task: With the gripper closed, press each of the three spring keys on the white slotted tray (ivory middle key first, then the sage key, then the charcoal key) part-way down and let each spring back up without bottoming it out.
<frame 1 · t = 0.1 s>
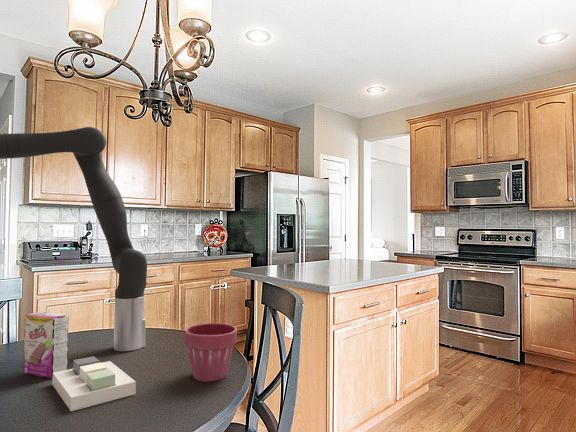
white slotted tray: (92, 389, 97), on the table
sage key: (100, 386, 92), point 2 cm above the table, slide at 0.0 cm
ivory key: (92, 379, 97), point 2 cm above the table, slide at 0.0 cm
charcoal key: (86, 372, 102), point 2 cm above the table, slide at 0.0 cm
plant pot: (210, 376, 106), on the table
candy bar box: (45, 374, 107), on the table
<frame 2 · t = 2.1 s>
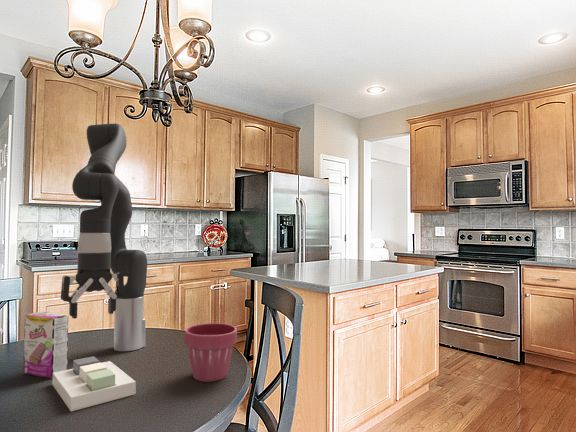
hand: (93, 315, 98), 18 cm above the table, fingers open, 8 cm apart
nothing on the table moved.
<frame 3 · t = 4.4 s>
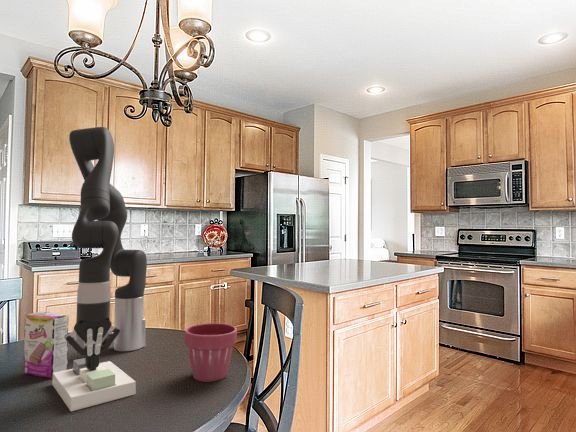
hand: (91, 369, 97), 5 cm above the table, fingers closed
ivory key: (92, 381, 97), point 2 cm above the table, slide at 0.6 cm, touching gripper
everything else where it was.
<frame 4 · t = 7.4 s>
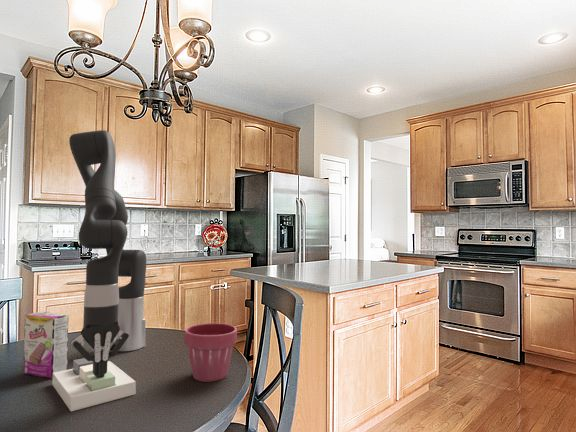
hand: (99, 376, 92), 5 cm above the table, fingers closed
sage key: (100, 389, 92), point 2 cm above the table, slide at 0.5 cm, touching gripper
ivory key: (92, 379, 97), point 2 cm above the table, slide at 0.1 cm
everything else where it was.
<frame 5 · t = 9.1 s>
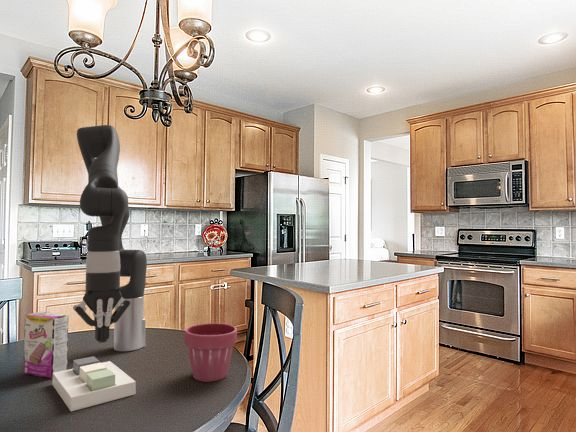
hand: (101, 341, 94), 13 cm above the table, fingers closed
sage key: (100, 386, 92), point 2 cm above the table, slide at 0.0 cm
everything else where it was.
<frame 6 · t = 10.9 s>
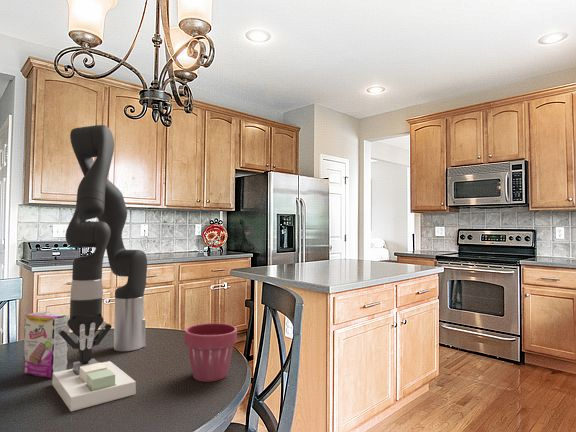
hand: (84, 363, 102), 5 cm above the table, fingers closed
charcoal key: (85, 374, 102), point 2 cm above the table, slide at 0.6 cm, touching gripper
everything else where it was.
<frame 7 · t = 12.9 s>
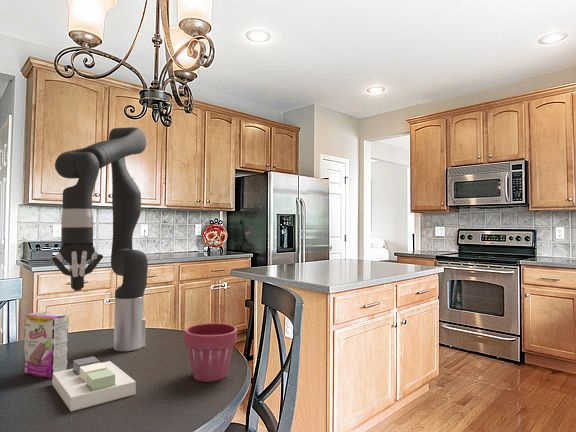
hand: (77, 290, 104), 24 cm above the table, fingers closed
charcoal key: (86, 372, 102), point 2 cm above the table, slide at 0.0 cm
everything else where it was.
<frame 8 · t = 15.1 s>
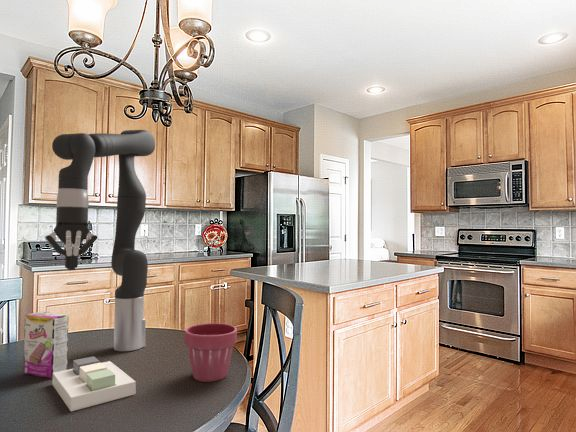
hand: (70, 269, 105), 29 cm above the table, fingers closed
nothing on the table moved.
at the end: ivory key slide at 0.1 cm; sage key slide at 0.0 cm; charcoal key slide at 0.0 cm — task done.
